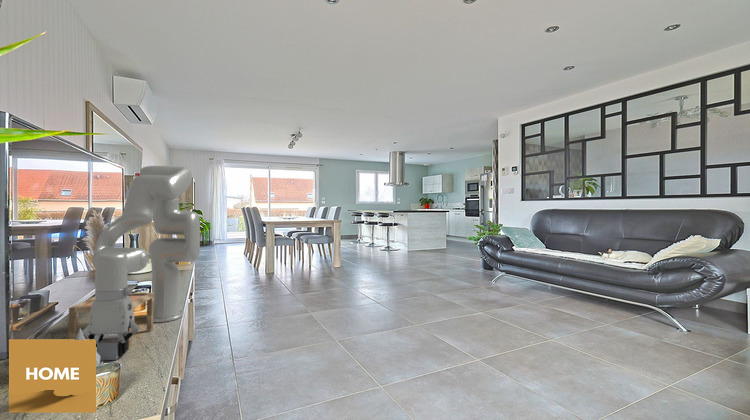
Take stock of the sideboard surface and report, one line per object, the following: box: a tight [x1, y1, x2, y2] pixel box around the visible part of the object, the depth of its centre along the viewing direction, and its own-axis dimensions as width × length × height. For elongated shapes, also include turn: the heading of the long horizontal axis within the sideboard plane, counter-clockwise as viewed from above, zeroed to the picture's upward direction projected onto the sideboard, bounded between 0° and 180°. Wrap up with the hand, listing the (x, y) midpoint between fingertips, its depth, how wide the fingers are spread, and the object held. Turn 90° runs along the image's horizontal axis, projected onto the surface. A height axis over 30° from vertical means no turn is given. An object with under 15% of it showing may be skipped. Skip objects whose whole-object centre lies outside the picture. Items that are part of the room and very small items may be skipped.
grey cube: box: [97, 335, 120, 361], centre depth 102 cm, size 5×5×5 cm
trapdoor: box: [84, 296, 142, 306], centre depth 114 cm, size 12×13×1 cm
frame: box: [68, 292, 154, 351], centre depth 113 cm, size 16×16×14 cm
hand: (111, 354), depth 102 cm, fingers closed on grey cube, 5 cm apart
